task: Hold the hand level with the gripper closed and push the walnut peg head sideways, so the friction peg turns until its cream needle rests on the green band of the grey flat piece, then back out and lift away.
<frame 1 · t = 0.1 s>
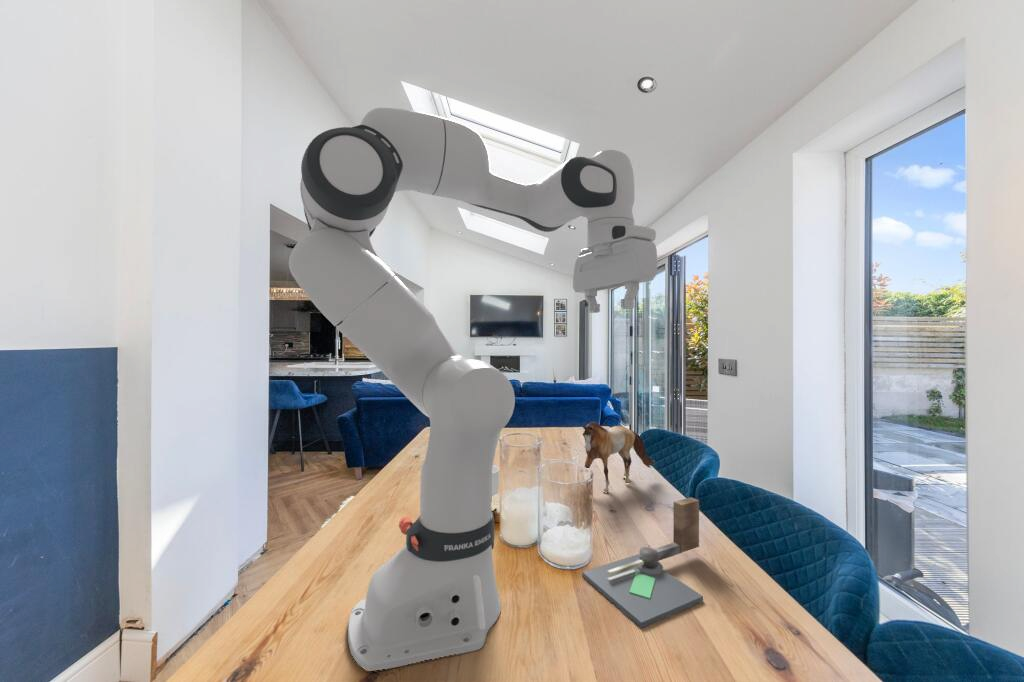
hand: (609, 310, 75), 48 cm above the table, tool pointing down, fingers open, 8 cm apart
grey flat piece: (648, 570, 70), on the table
horse figurine: (621, 490, 111), on the table
white cup: (483, 509, 97), on the table
tuning peg: (654, 534, 71), point 6 cm above the table, hinge at 0.0°
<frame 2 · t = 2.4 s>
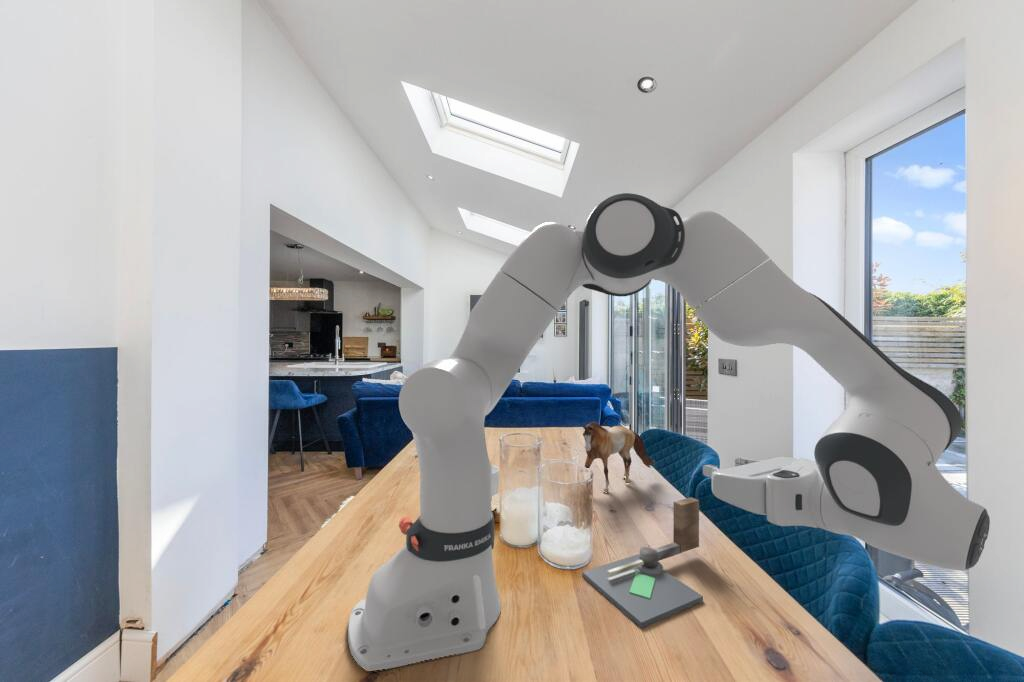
hand: (721, 465, 68), 20 cm above the table, tool horizontal, fingers open, 7 cm apart
nothing on the table moved.
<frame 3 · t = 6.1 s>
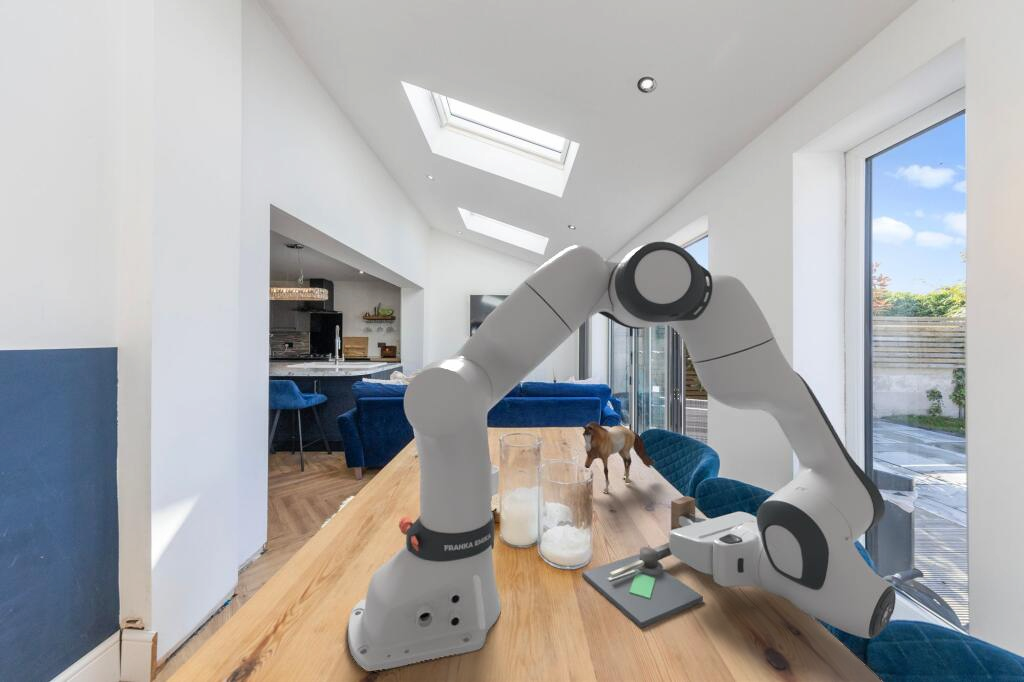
hand: (684, 519, 74), 8 cm above the table, tool horizontal, fingers closed, pressing on tuning peg
tuning peg: (654, 534, 71), point 6 cm above the table, hinge at 4.0°, touching gripper
everything else where it was.
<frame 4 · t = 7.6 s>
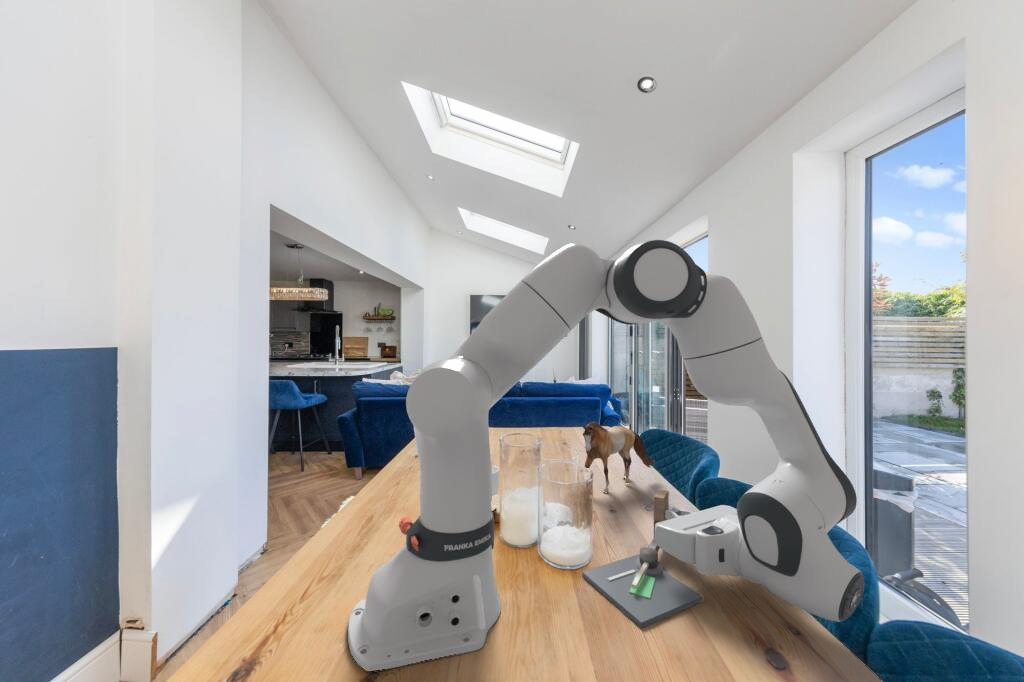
hand: (670, 512, 77), 8 cm above the table, tool horizontal, fingers closed
tuning peg: (650, 533, 72), point 6 cm above the table, hinge at 29.6°
everything else where it was.
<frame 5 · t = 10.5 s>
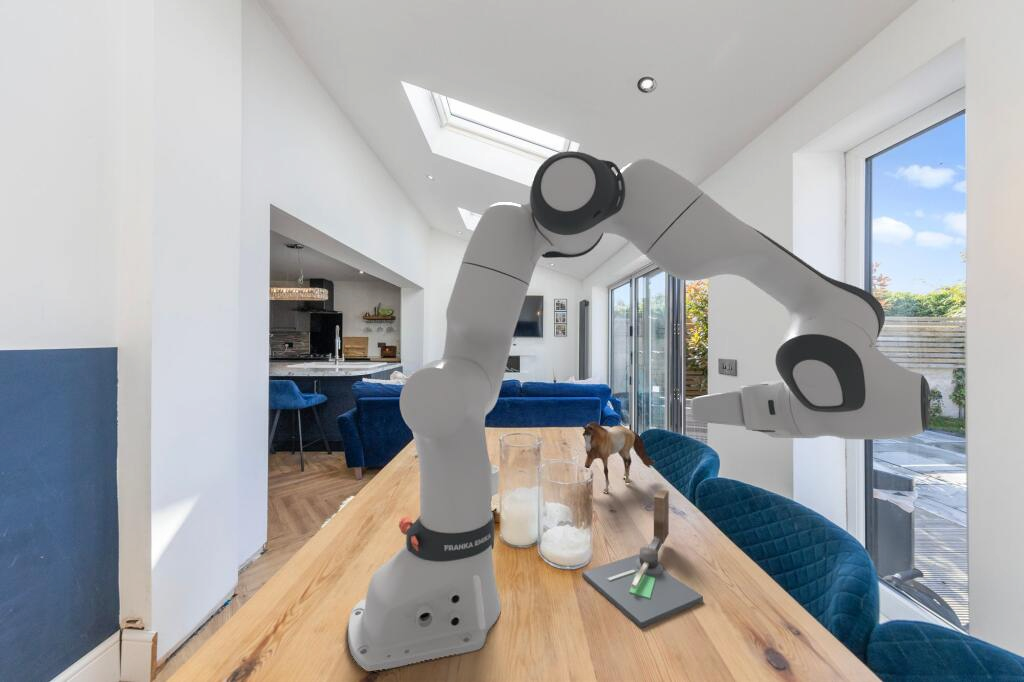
hand: (696, 411, 71), 29 cm above the table, tool horizontal, fingers closed
nothing on the table moved.
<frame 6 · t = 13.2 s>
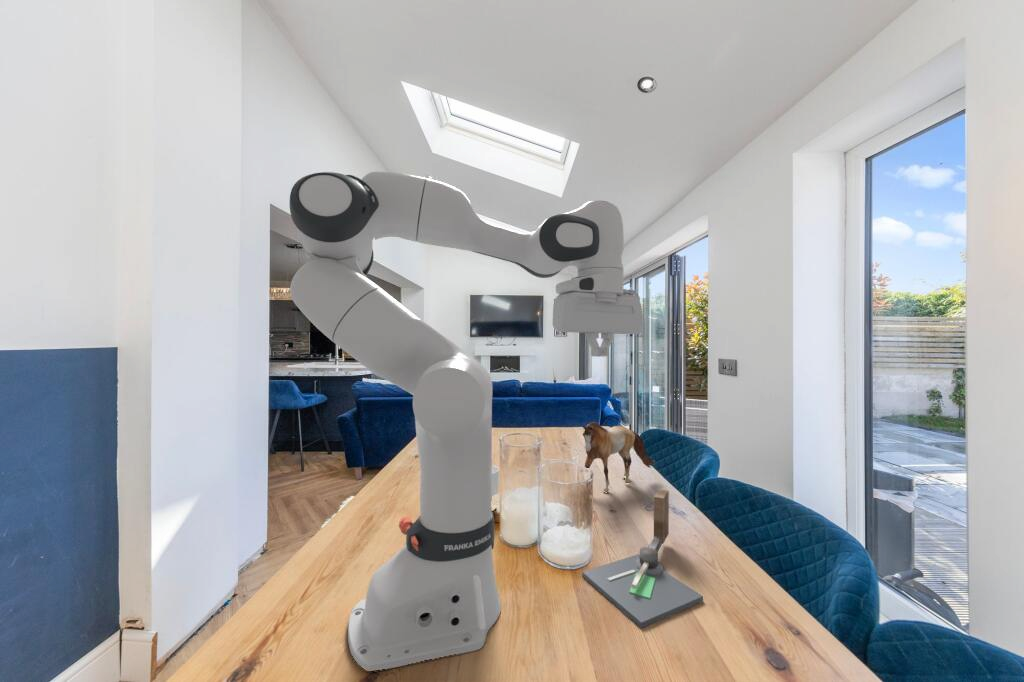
hand: (599, 356, 76), 39 cm above the table, tool pointing down, fingers closed
nothing on the table moved.
at the end: tuning peg at +30° (first picture: +0°); the gripper is holding nothing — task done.
